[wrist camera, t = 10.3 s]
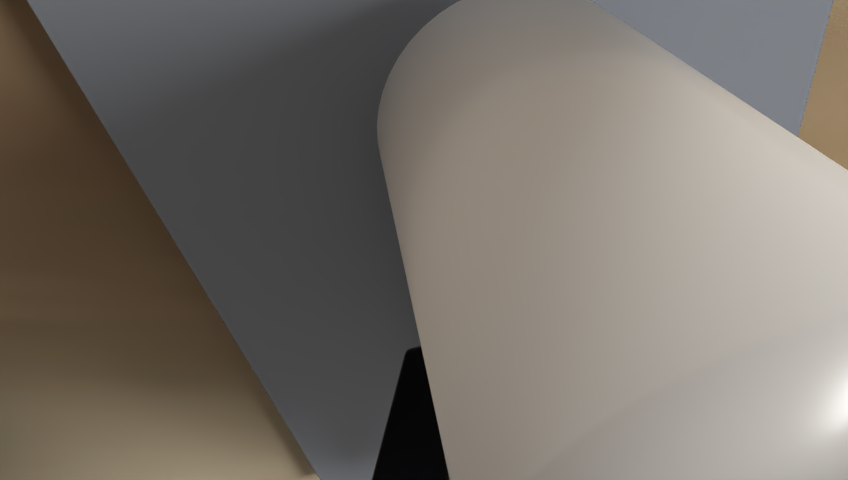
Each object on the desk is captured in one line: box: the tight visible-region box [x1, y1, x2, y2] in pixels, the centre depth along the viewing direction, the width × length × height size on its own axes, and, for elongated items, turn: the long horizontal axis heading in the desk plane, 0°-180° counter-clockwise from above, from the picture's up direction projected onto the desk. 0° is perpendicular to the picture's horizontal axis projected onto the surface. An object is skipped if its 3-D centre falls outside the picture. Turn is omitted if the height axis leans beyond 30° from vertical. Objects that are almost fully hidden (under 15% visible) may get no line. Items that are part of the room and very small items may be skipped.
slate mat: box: [27, 0, 833, 480], centre depth 12 cm, size 12×16×1 cm
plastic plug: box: [377, 0, 848, 480], centre depth 9 cm, size 4×12×6 cm, turn 11°
